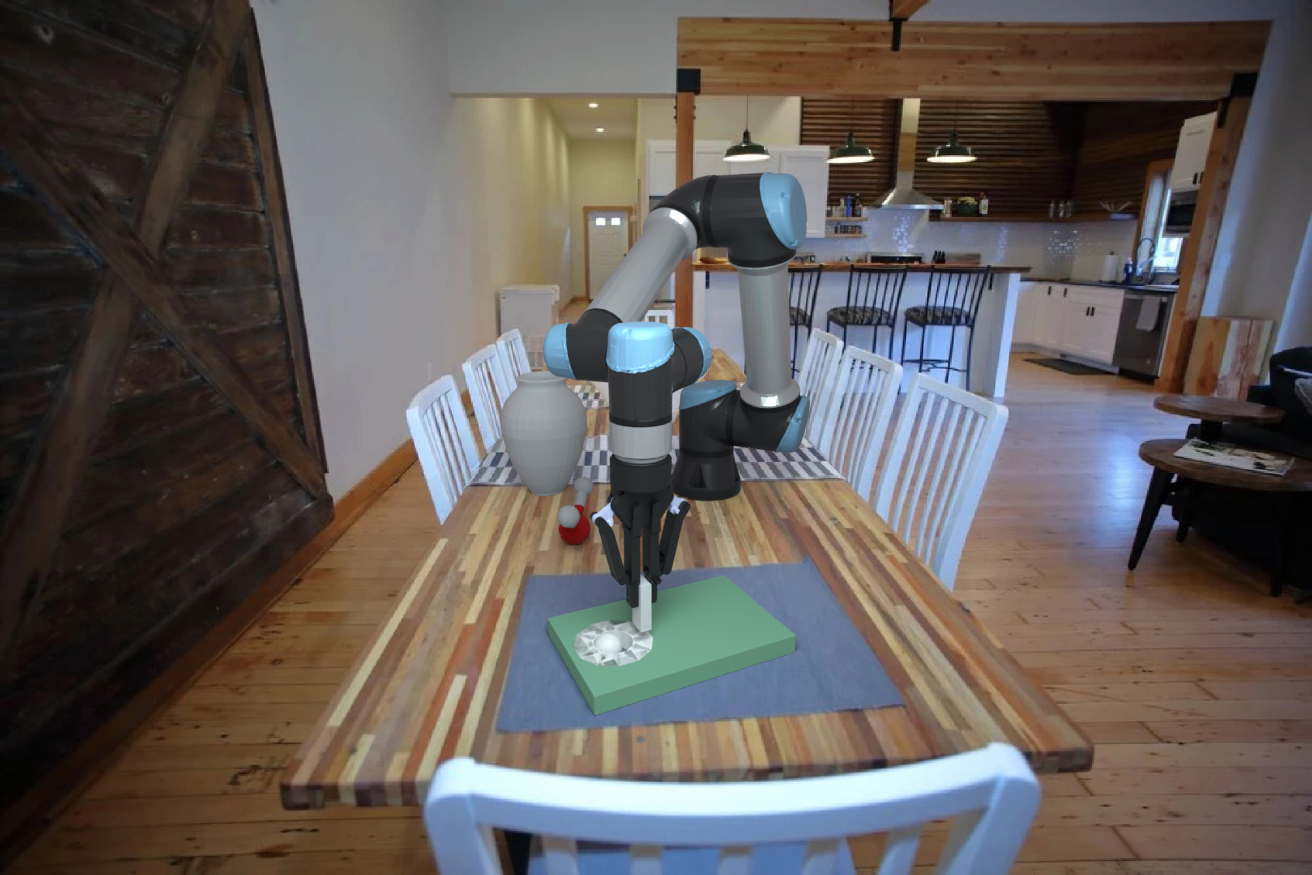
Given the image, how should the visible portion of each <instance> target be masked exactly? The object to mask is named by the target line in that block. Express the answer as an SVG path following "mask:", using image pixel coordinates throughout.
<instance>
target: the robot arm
mask: <svg viewBox="0 0 1312 875" xmlns="http://www.w3.org/2000/svg"><path fill="white" fill-rule="evenodd" d="M806 203H807V202H806V197H805V193H804V190H803V188H802V185H801V183H800V181H799V180H798V179H797V177H795V176H794V175H792V174H791V173H779V172H778V173H776V172H775V173H774V172H772V171H771V172H770V171H766V172H755V173H753V172H752V173H737V174H736V173H735V174H721V175H716V174H709V175H703V176H698V177H695V178H693V179H690V180H688V181H687V182H685V183H683V184H681V185H680V186H678V187H676V188H674V189H673V190H672V191H671V192H669V193H667V195H665V196H664V197H663V198H662V199H661V200H660V201H658V203H657V204H656V205H655V206H653V208H652V209H651V210H650V211H649V213H648V214H647V215H646V217H645V219H644V221H643V222H642V223H643V224H642V233H641V234H640V236H639V237H638V238H637V239H636V241H635V242H634V244H633V245H632V246H631V248H630V249H629V251H628V252H627V253H626V255H625V256H624V258H623V259H622V260H621V261H620V263H619V264H618V266H617V267H616V268H615V270H614V271H613V272H612V273H611V275H610V277H609V278H608V279H607V281H606V282H605V283H604V285H603V286H602V287H601V289H600V290H599V291H598V292H597V294H596V295H595V297H594V298H593V299H592V301H591V302H590V303H589V305H588V306H587V307H586V309H585V310H584V312H583V313H582V314H581V316H580V317H579V319H578V320H577V321H576V322H575V323H571V322H565V323H557V324H555V325H552V326H551V327H550V328H549V329H548V331H547V332H546V335H545V338H544V341H543V344H542V345H543V346H542V347H543V348H542V354H543V361H544V363H545V366H546V368H547V369H548V370H547V371H550V372H551V373H552V374H553V375H555V376H558V377H563V378H567V379H568V380H573V381H576V382H577V381H578V382H579V381H582V382H583V381H584V382H585V381H586V382H595V383H596V382H597V383H607V384H608V385H607V388H608V410H609V411H608V412H609V413H608V434H609V435H608V436H609V440H608V442H609V451H610V453H611V455H610V457H609V484H610V485H609V486H610V492H609V494H608V496H607V499H606V500H607V501H606V505H605V506H604V507H603V508H602V509H601V510H599V511H592V512H591V513H590V515H589V520H590V521H591V522H592V524H594V526H595V527H596V528H597V530H598V534H599V538H600V540H601V544H602V548H603V550H604V555H605V558H606V562H607V565H608V569H609V572H610V575H611V577H612V578H613V579H614V580H615V582H616V583H617V584H618V585H619V586H625V599H626V601H627V603H628V605H629V606H630V607H631V608H632V622H633V623H634V625H635V626H636V627H637V628H638V629H639V631H640V632H645V631H648V630H651V603H655V602H656V601H657V591H658V585H660V584H661V583H662V579H661V577H662V576H664V575H665V576H668V575H670V574H671V573H672V571H673V566H674V561H675V558H676V553H677V550H678V545H679V542H680V541H679V539H680V536H681V531H682V529H683V528H682V527H683V524H684V523H683V522H684V520H685V519H686V517H687V515H688V513H689V511H690V509H691V504H690V502H688V501H687V500H686V499H684V498H687V499H689V500H690V499H691V500H697V501H718V500H725V499H730V498H732V497H734V496H737V495H738V494H739V493H740V492H741V487H742V486H741V485H742V480H741V479H742V478H741V475H740V474H741V473H740V471H739V468H738V464H737V462H736V457H735V454H734V452H735V450H734V449H735V448H734V447H738V448H746V449H752V450H759V451H760V450H761V451H767V452H774V454H776V453H786V454H792V453H795V452H796V451H797V450H798V449H799V448H800V446H801V444H802V441H803V438H804V436H805V432H806V430H807V429H806V428H807V425H808V421H809V420H808V419H809V415H810V409H811V408H810V407H811V400H810V397H808V396H805V394H803V395H801V388H800V385H799V384H800V383H798V382H797V381H796V380H795V379H794V378H792V356H791V354H792V351H791V349H792V348H791V326H790V324H791V323H790V294H789V264H790V263H791V262H792V261H793V260H794V259H795V258H796V256H797V250H798V249H800V248H802V246H803V245H804V243H805V241H806V237H807V223H808V212H807V204H806ZM704 248H715V249H717V248H719V249H726V253H727V261H728V263H729V264H730V266H732V267H733V268H735V269H736V270H737V276H738V290H739V303H740V315H741V326H742V338H743V351H744V363H745V374H746V376H745V377H746V381H745V382H744V383H743V384H742V385H741V387H740V389H738V385H737V383H736V382H735V381H733V380H730V379H713V380H705V381H699V380H700V379H701V378H703V377H704V376H705V374H706V373H707V372H708V370H709V369H710V367H711V364H712V358H713V352H712V348H711V344H710V342H709V340H708V338H707V337H706V336H705V335H704V334H703V333H702V332H701V331H700V330H697V329H696V328H693V327H691V326H690V327H689V326H684V327H680V326H677V327H673V328H671V327H670V326H669V325H668V324H667V323H665V322H664V323H663V322H659V321H644V319H645V317H646V315H647V314H648V312H649V310H650V309H651V307H652V305H654V303H655V301H656V299H657V298H658V296H660V293H661V292H662V291H663V289H664V287H665V286H666V284H667V283H668V281H669V279H670V278H671V276H672V275H673V274H674V271H675V270H676V268H677V267H678V265H679V264H680V262H682V261H684V260H686V259H688V258H690V257H691V256H692V255H693V253H694V252H695V250H698V249H704ZM680 390H681V391H680ZM678 391H680V394H679V406H678V411H679V413H678V416H679V417H678V422H679V423H678V427H679V428H678V438H679V441H678V443H679V444H678V445H679V446H678V455H677V458H676V461H675V464H674V467H673V457H672V455H671V452H672V451H673V394H674V393H676V392H678ZM675 494H676V495H675ZM614 515H615V517H616V518H617V519H618V520H619V521H620V522H621V528H622V531H623V559H622V556H621V552H620V549H619V548H620V547H619V545H618V541H617V537H616V534H615V531H614V530H613V528H612V527H613V526H614V519H613V516H614ZM664 515H665V517H664V522H663V526H662V518H663V516H664ZM661 529H662V530H661ZM660 533H661V536H660ZM641 542H642V544H641ZM641 545H642V546H641ZM641 548H642V551H641ZM641 552H642V553H641ZM641 554H642V555H641ZM641 557H642V564H641ZM641 565H642V573H643V575H642V574H641Z"/></svg>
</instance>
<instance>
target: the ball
mask: <svg viewBox="0 0 1312 875" xmlns="http://www.w3.org/2000/svg"><path fill="white" fill-rule="evenodd" d="M594 646H595V647H596V649H597V650H599V651H601V652H604V653H610V654H617V653H621V652H623V648H622V643H621V640H620V638H619V637H618V636H617V635H615V634H613V633H603V634H601V635H600V636H599V637H598V638H597V639H596V641H595V644H594Z"/></svg>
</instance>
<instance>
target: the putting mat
mask: <svg viewBox="0 0 1312 875" xmlns="http://www.w3.org/2000/svg"><path fill="white" fill-rule="evenodd" d="M547 629H548V632H547V633H548V634H547V635H548V636H549V638H550V640H551V641H552V643H553V645H554V647H555V648H556V650H557V653H559V656H560V657H561V659H562V660H563V662H564V664H565V666H566V667H567V669H568V671H569V673H570V675H571V676H572V678H573V680H574V682H575V683H576V685H577V687H578V689H579V690H580V692H581V694H582V696H583V697H584V699H585V701H586V703H587V705H588V706H589V708H590V710H591V712H592V713H593V715H594V716H598V715H601V714H604V713H608V712H610V711H613V710H617V709H620V708H623V707H626V706H630V705H632V704H633V705H634V704H636V703H639V702H642V701H646V700H648V699H651V698H655V697H658V696H661V695H664V694H667V693H670V692H673V691H678V690H680V689H684V688H686V687H690V686H693V685H696V684H699V683H702V682H705V681H708V680H712V679H714V678H718V677H720V676H724V675H728V674H730V673H734V672H736V671H739V670H743V669H747V668H749V667H753V666H756V665H759V664H762V663H765V662H768V661H771V660H775V659H778V658H781V657H784V656H787V655H788V656H789V655H791V654H794V653H796V644H797V643H796V642H797V641H796V640H797V635H796V634H795V633H794V632H792V631H791V630H790V629H789V628H788V627H786V625H784V624H783V623H782V622H781V621H779V620H778V619H777V618H776V617H775V616H773V614H772V613H770V612H768V611H767V610H766V609H765V608H764V607H762V605H761V604H759V603H758V602H757V601H756V600H754V598H752V597H751V596H750V595H748V593H747V592H745V591H744V590H743V589H741V587H739V586H738V585H737V584H735V582H733V581H732V580H731V579H730V578H728V576H726V575H725V574H723V575H718V576H715V577H711V578H706V579H702V580H697V581H694V582H691V583H686V584H683V585H682V584H681V585H679V586H678V585H677V586H675V587H670V588H666V589H663V590H657V601H656V602H655V603H651V630H648V631H645V632H640V631H639V629H638V628H637V627H636V626H635V625H634V623H633V622H632V608H631V607H630V606H629V605H628V603H627V601H626V598H624V599H621V600H617V601H613V602H610V603H604V604H601V605H597V606H591V607H588V608H585V609H580V610H576V611H573V612H567V613H564V614H560V615H555V616H551V617H548V618H547ZM603 633H613V634H615V635H617V636H618V637H619V638H620V640H621V643H622V649H623V650H625V651H621V653H617V654H610V653H604V652H601V651H599V650H597V649H596V647H595V646H594V644H595V641H596V639H597V638H598V637H599V636H600V635H601V634H603Z"/></svg>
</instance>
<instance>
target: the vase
mask: <svg viewBox="0 0 1312 875" xmlns="http://www.w3.org/2000/svg"><path fill="white" fill-rule="evenodd" d="M567 379H568V378H563V377H558V376H555V375H553V374H552V373H551V372H550V371H549V370H546V371H545V370H542V371H541V370H539V371H529V372H525V373H521V374H520V375H517V376H516V377H515V381H516V382H517V387H516V388H515V389H514V390H513V391H512V392H511V393H510V395H509V396H507V398H506V399H505V401H504V403H503V406H502V408H501V411H500V413H501V414H500V421H499V422H500V432H501V436H502V439H503V443H504V446H505V449H506V453H507V455H508V458H509V460H510V462H511V464H512V465H513V468H514V470H515V471H516V473H517V475H518V476H519V479H520V480H521V482H523V485H525V487H527V489H529V491H530V492H531V494H533V495H535V496H539V497H551V496H556V495H559V494H562V493H563V492H564V490H565V488H566V487H567V486H568V484H569V483H570V481H571V480H572V477H573V476H574V473H575V471H576V469H577V468H578V467H577V466H578V464H579V462H580V459H581V457H582V453H583V449H584V443H585V440H586V432H587V428H588V419H587V418H588V417H587V412H586V408H585V406H584V403H583V401H582V399H581V397H580V396H579V395H577V393H576V392H575V391H573V389H572V388H570V387H569V386H568V385H567V383H566V382H567Z"/></svg>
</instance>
